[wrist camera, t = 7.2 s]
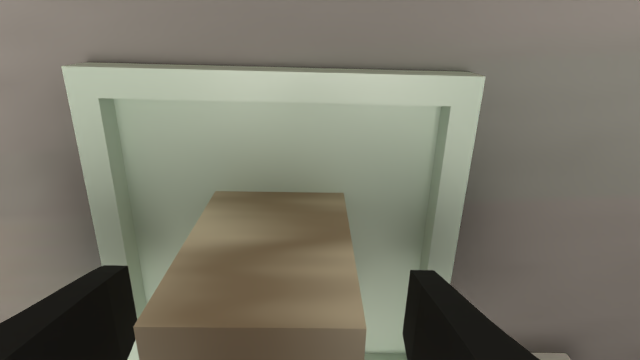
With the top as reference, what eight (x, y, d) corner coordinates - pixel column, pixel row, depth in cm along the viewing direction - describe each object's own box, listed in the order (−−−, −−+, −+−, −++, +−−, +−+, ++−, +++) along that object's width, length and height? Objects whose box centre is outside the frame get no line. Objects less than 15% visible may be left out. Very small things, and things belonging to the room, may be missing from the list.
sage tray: (469, 71, 12) (485, 76, 10) (424, 362, 16) (432, 388, 14) (86, 62, 11) (61, 66, 10) (139, 359, 15) (125, 385, 14)
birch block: (343, 192, 12) (366, 328, 7) (338, 298, 14) (354, 481, 8) (215, 191, 12) (133, 326, 7) (224, 297, 14) (162, 481, 8)
